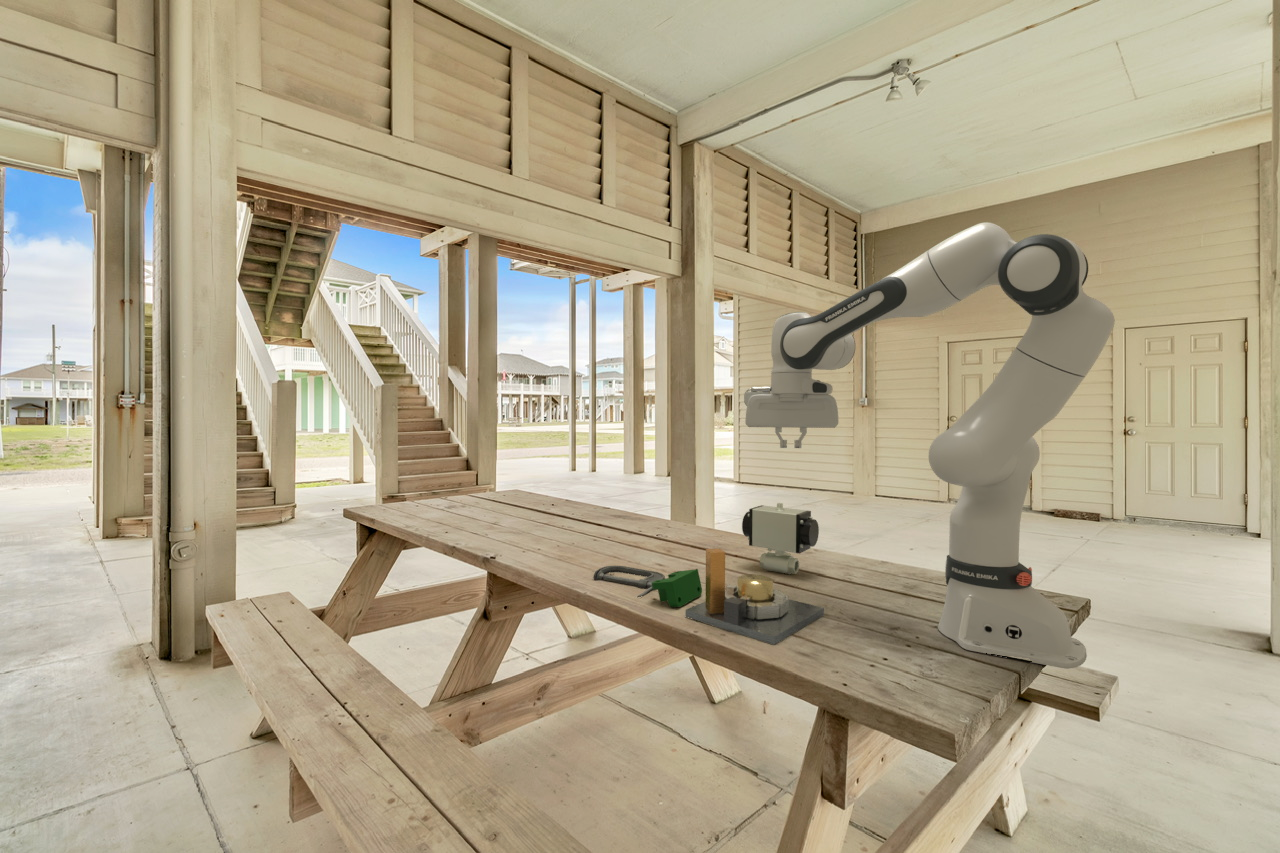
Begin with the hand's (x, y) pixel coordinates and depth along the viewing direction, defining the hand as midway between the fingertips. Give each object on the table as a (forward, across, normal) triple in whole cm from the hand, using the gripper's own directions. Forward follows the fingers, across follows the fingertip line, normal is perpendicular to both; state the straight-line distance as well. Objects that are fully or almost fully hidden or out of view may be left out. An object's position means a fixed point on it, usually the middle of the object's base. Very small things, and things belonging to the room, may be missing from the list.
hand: (790, 447), depth 130 cm
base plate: (+33, -7, -16) cm, 38 cm away
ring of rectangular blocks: (+31, -9, -17) cm, 37 cm away
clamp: (+33, -24, -10) cm, 43 cm away
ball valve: (+33, -2, +17) cm, 38 cm away
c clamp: (+34, -38, +1) cm, 51 cm away
